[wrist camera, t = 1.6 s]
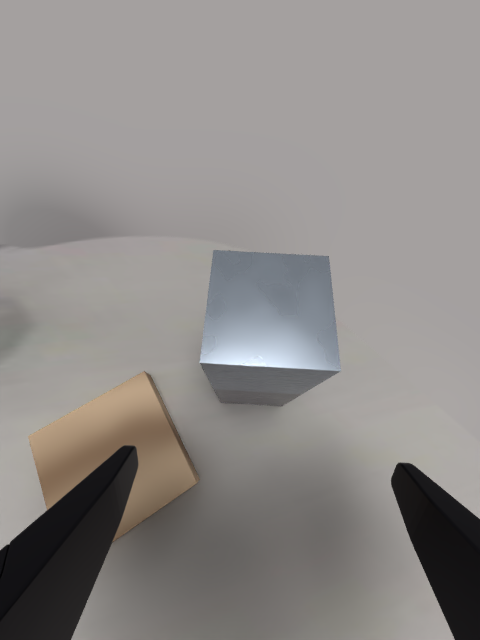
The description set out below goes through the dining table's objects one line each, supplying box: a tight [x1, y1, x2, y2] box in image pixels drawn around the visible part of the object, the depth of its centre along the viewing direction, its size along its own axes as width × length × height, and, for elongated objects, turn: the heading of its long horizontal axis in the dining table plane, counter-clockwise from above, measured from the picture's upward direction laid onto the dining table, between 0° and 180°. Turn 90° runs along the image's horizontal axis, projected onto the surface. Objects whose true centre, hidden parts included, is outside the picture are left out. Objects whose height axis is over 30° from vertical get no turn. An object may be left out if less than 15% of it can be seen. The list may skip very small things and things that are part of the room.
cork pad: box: [28, 371, 200, 542], centre depth 19 cm, size 9×9×2 cm
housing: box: [200, 250, 341, 406], centre depth 16 cm, size 5×5×13 cm
